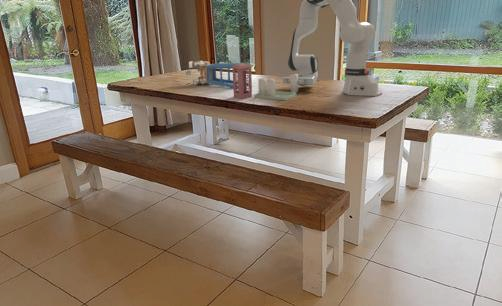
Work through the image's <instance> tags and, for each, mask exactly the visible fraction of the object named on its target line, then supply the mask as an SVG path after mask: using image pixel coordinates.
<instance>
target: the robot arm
mask: <svg viewBox="0 0 502 306" xmlns="http://www.w3.org/2000/svg"><path fill="white" fill-rule="evenodd" d="M328 6H330V7H331V9H332V11H333V12H334V15H335V17H336V18H337V20H338V23H339V26H340V31H339V38H340V40H341V41H342V43H344V44H349V45H350V48H349V49H348V51H347V53H346V61H345V64H346V65H345V67H344V69H345V70H344V84H343V87H342V88H343V89H342V91H341V92H342V94H347V96H364V97H365V96H366V97H367V96H369V97H376V96H380V95H382V94H383V90H382V89H379V84H378V81H377V80H376V79H375V78H373V77H372V76H371V75H370V69H369V68H367V56H368V51H369V47H370V43H371V41H372V39H373V38H374V36H375V33H376V29H375V26H374V25H373V24H372V23H369V22H367V21H363V22H360V21H359V20H358V17H357V8H356V6H355V4H354V2H353V1H352V0H302V2H301V4H300V8H299V21H298V25H297V26H296V28H294V31H293V34H292V41H291V46H290V51H289V53H290V54H289V58H288V60H287V65H288V68H290V70H291V71H292V72H296V71H298V72H297V74H298V81H297V84H298V86H300V87H305V86H312V85H313V86H314V85H316V84H317V79H318V76H319V75H318V74H319V73H318V69H319V61H318V58H317V57H316V55H314V54H299V51H300V44H301V41H302V39H304V38H305V37H306V36H307V37H308V36H309V35H311V34H313V33H314V32H315V31H316V30H317V28H318V24H319V23H318V21H319V19H318V18H319V10H320V8H321V9H322V8H324V7H325V8H326V7H328ZM281 79H282V83H283V84H288V85H289V84H290V75H286V76H283V77H282V78H281Z"/></svg>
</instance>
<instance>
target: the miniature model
mask: <svg viewBox="0 0 502 306" xmlns="http://www.w3.org/2000/svg"><path fill="white" fill-rule="evenodd" d="M239 63H240V64H235V65H233V66H232V67H231V68H232V81H233V88H232V89H233V97H234V98H237V99H239V100H243V99H249V98H253V84H252V68H253V67H252V65H250V64H249V65H248V64H244V63H245V62H239ZM237 82H238V85H237ZM248 83H249V85H247V84H248ZM237 87H238V89H236V88H237Z"/></svg>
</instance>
